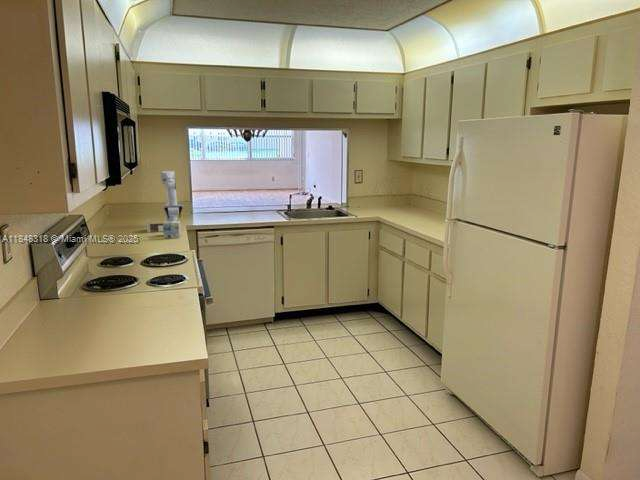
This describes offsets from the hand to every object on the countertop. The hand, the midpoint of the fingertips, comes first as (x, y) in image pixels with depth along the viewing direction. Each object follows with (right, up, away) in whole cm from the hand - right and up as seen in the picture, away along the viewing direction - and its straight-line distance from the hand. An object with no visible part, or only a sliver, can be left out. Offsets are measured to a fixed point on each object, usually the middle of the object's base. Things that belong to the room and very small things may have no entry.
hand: (174, 218), depth 340 cm
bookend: (-17, -10, -2) cm, 20 cm away
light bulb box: (+3, -14, -14) cm, 20 cm away
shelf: (-10, -10, +1) cm, 15 cm away
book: (-9, -9, 0) cm, 13 cm away
